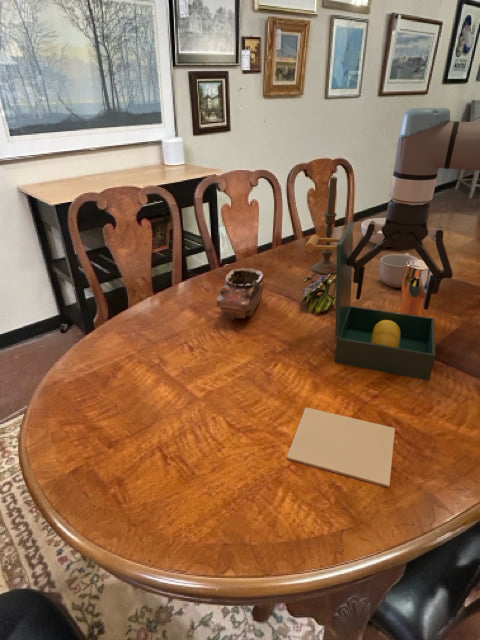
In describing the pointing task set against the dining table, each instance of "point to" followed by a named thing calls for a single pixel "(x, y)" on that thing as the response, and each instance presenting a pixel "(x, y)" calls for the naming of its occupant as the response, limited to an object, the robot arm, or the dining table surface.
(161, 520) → the dining table surface
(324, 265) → the candlestick holder
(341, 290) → the lid
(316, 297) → the passion flower
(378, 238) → the serving bowl
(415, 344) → the open box
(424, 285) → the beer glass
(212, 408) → the dining table surface
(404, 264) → the teacup
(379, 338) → the yellow capsule
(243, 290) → the brown shoe shaped pot
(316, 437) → the placemat
